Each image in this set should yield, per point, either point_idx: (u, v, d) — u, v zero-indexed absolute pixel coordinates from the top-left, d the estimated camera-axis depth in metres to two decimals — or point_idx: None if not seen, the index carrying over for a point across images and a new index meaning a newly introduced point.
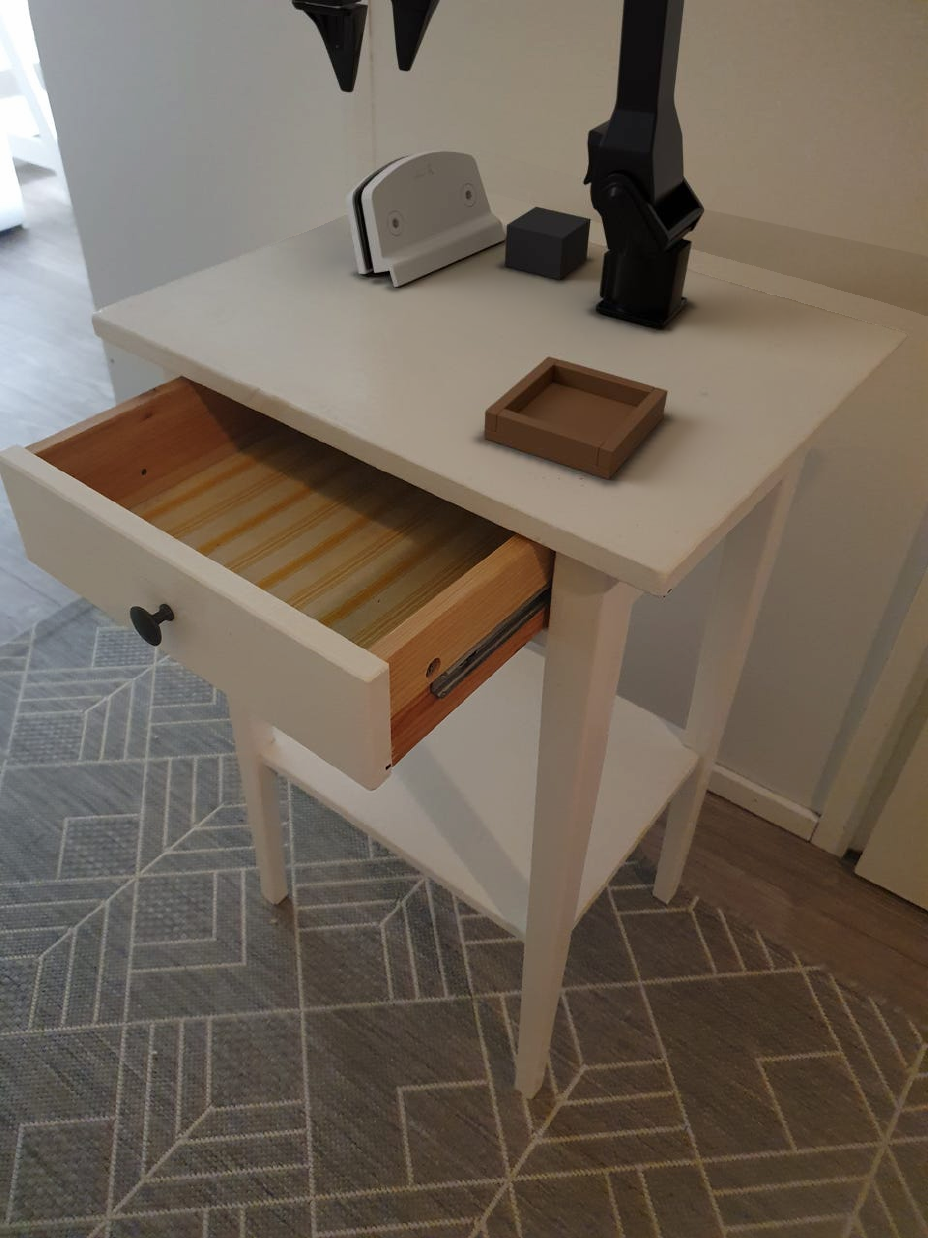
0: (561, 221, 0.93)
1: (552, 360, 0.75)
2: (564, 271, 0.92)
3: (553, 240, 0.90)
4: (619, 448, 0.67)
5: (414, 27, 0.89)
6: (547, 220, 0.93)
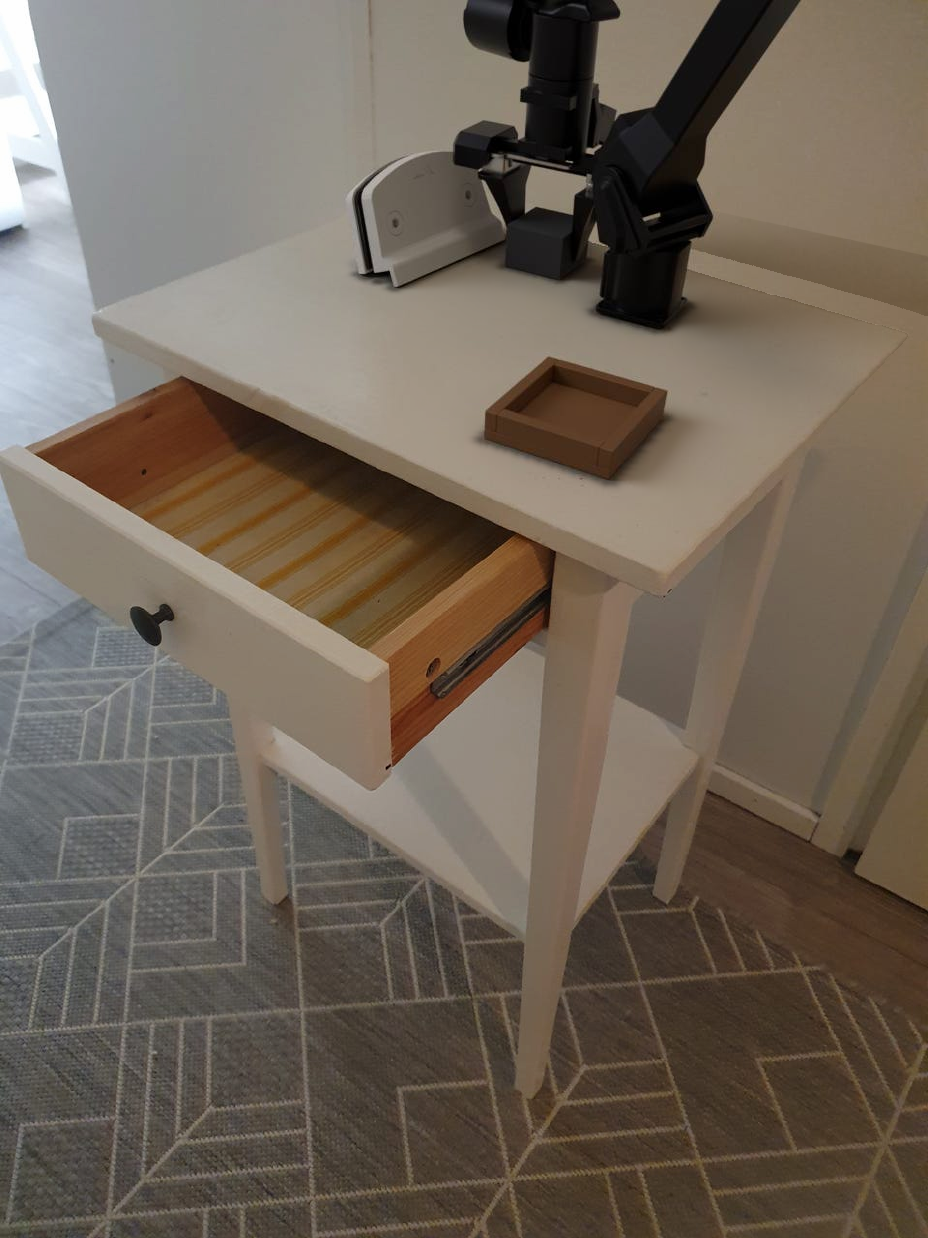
0: (561, 221, 0.93)
1: (552, 360, 0.75)
2: (564, 270, 0.92)
3: (553, 239, 0.90)
4: (619, 448, 0.67)
5: None
6: (547, 220, 0.93)
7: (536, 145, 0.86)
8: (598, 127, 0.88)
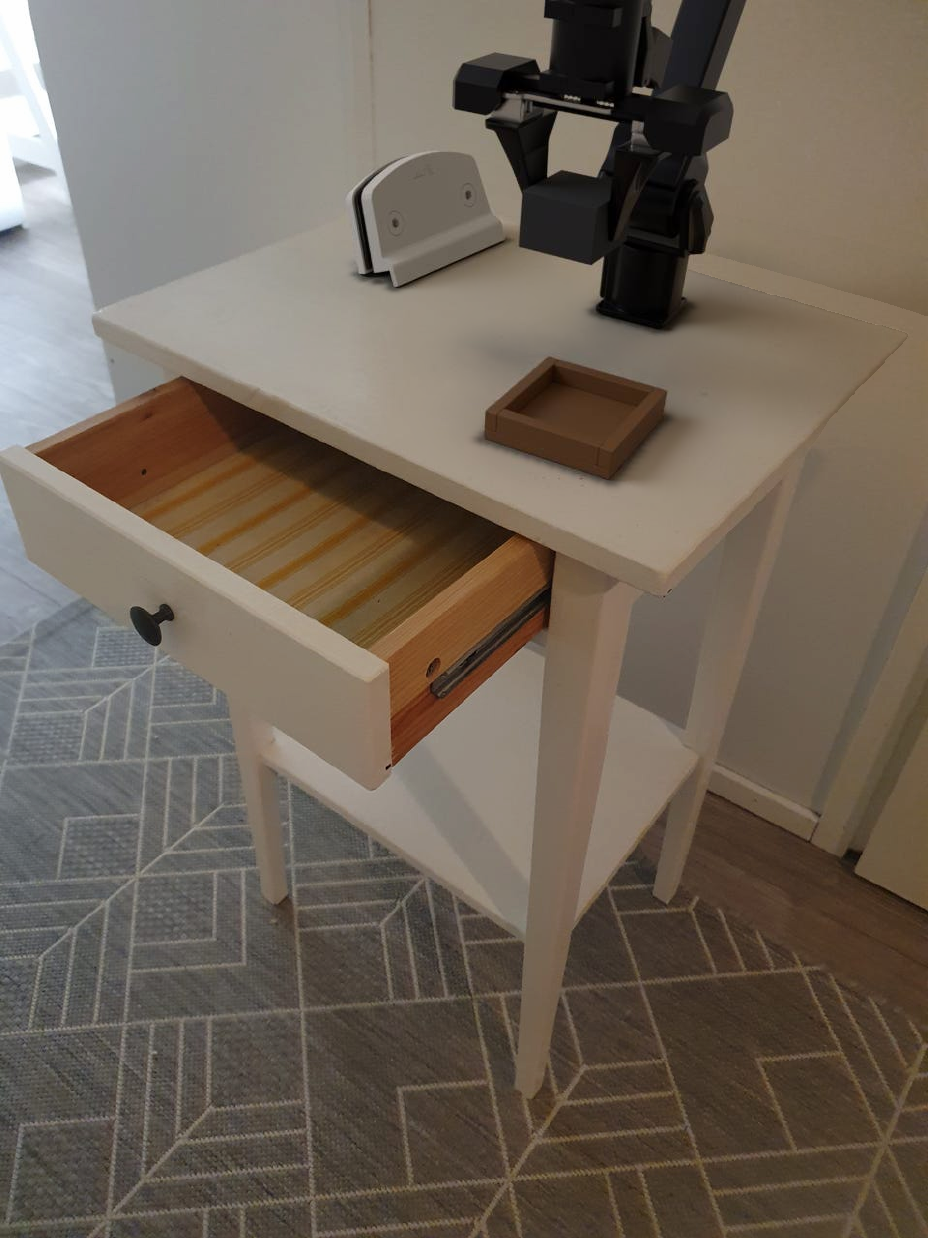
0: (595, 188, 0.70)
1: (552, 360, 0.75)
2: (598, 253, 0.69)
3: (584, 211, 0.67)
4: (619, 448, 0.67)
5: None
6: (576, 186, 0.70)
7: (565, 79, 0.63)
8: (649, 58, 0.65)
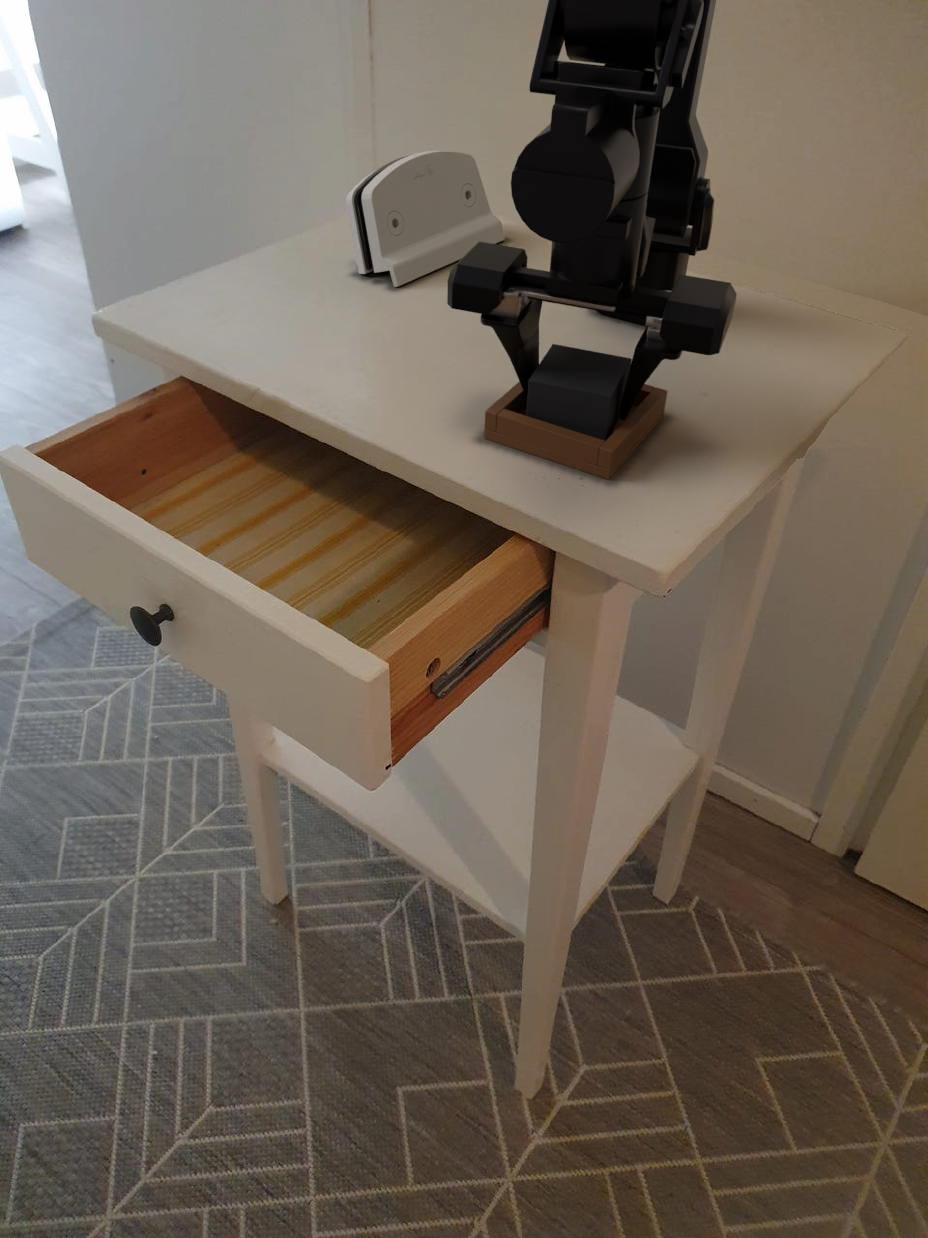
0: (597, 367, 0.69)
1: None
2: (609, 433, 0.69)
3: (597, 398, 0.67)
4: (619, 448, 0.67)
5: None
6: (578, 367, 0.69)
7: (574, 284, 0.62)
8: (646, 250, 0.65)
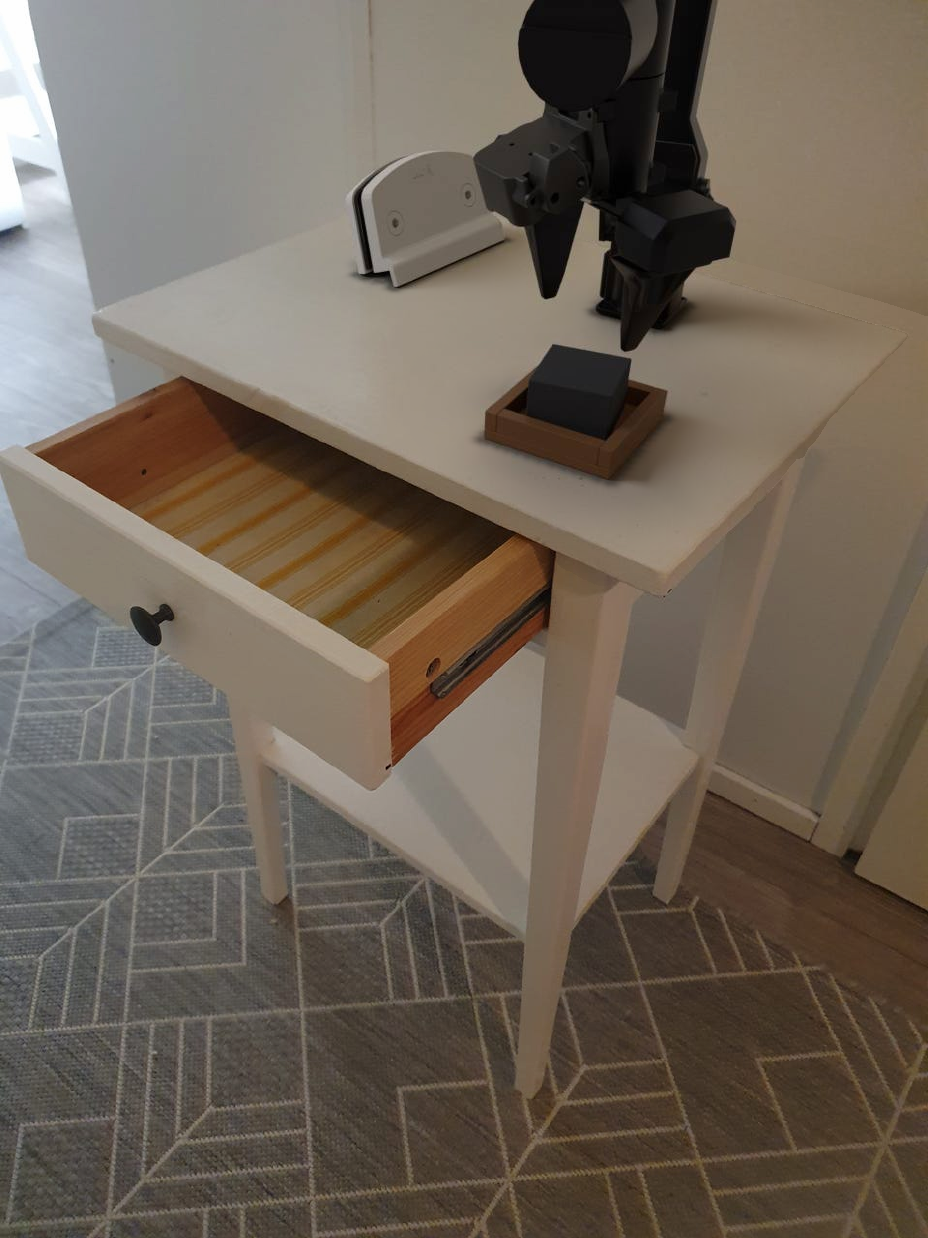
0: (597, 367, 0.69)
1: None
2: (609, 433, 0.69)
3: (597, 398, 0.67)
4: (619, 448, 0.67)
5: (565, 243, 0.68)
6: (578, 367, 0.69)
7: None
8: None
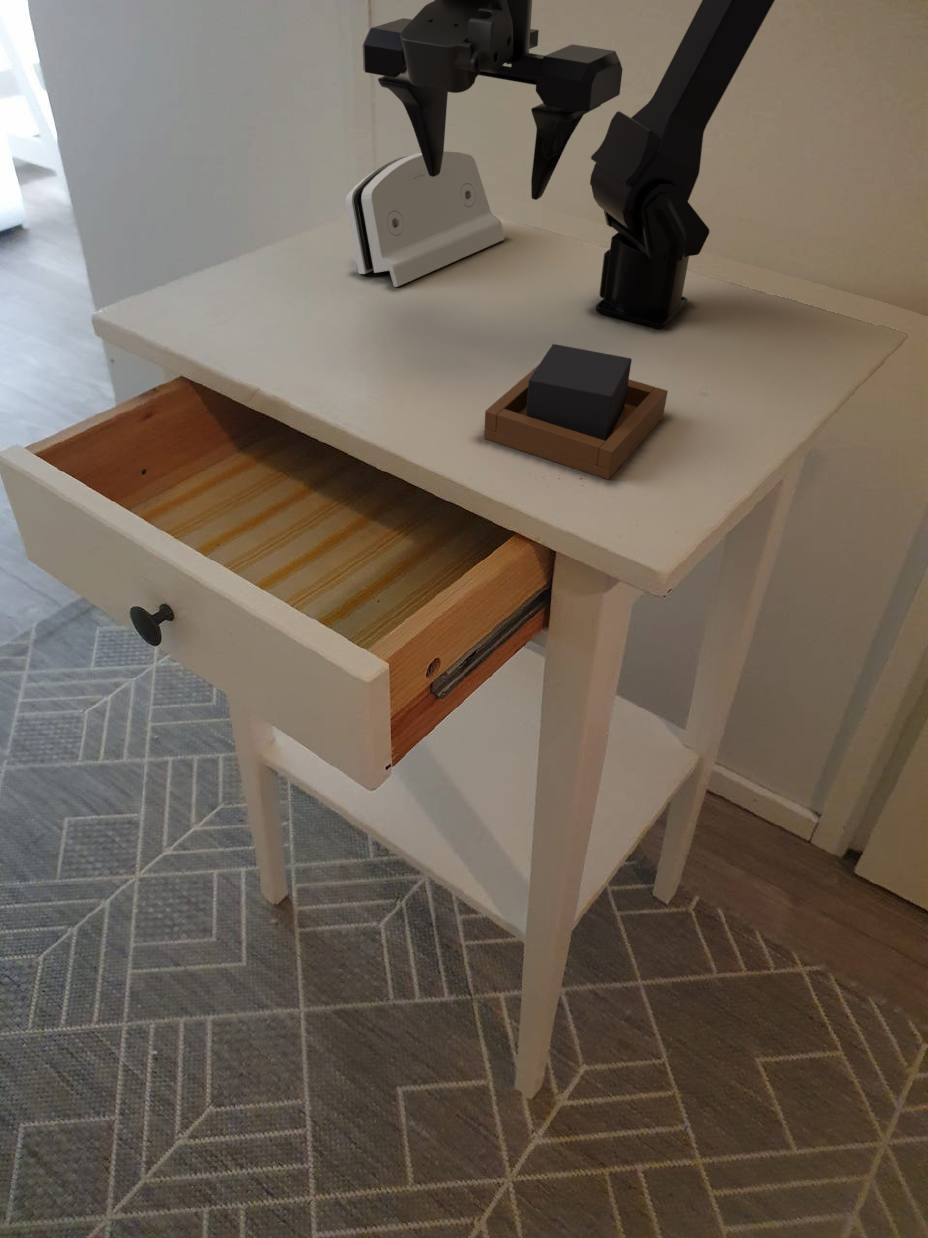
0: (597, 367, 0.69)
1: None
2: (609, 433, 0.69)
3: (597, 398, 0.67)
4: (619, 448, 0.67)
5: (441, 122, 0.76)
6: (578, 367, 0.69)
7: None
8: None
